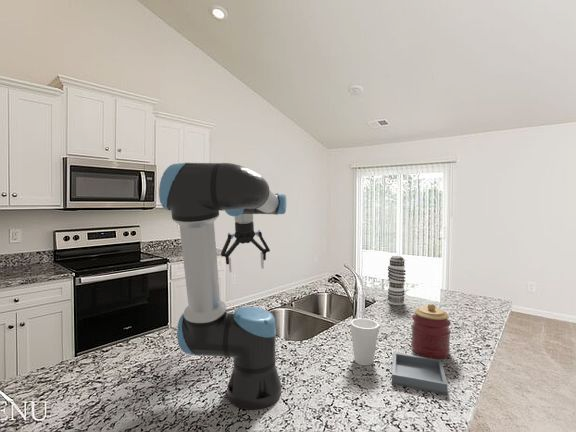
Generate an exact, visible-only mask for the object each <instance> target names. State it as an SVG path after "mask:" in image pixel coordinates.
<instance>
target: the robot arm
mask: <svg viewBox="0 0 576 432" xmlns="http://www.w3.org/2000/svg"><path fill="white" fill-rule="evenodd" d="M158 187H159V188H158V197H159V202H160V204H161V207H162V208H163V209H164V210H166V211H170V212H171V218H172V219H171V220H172V221H174V222H175V223H176V224H178V225H179V233H180V242H181V250H182V252H181V253H182V260H183V268H184V276H185V285H186V286H185V287H186V295H187V304H188V305H187V306H186V307H185V309H184V311H183V313H182V314H181V315H180V317H179V319H178V322H177V326H176V327H177V331H176V338H177V339H176V340H177V344H178V346H179V348H180V350H181V351H182V352H183V353H184V354H188V355H192V356H193V355H194V356H198V357H199V356H200V357H201V356H205V357H208V356H210V357H222V358H233V368H232V371H231V375H230V378H229V381H228V384H227V389H226V390H227V399H228V401H229V402H230V403H231V404H232V405H233V406H236V407H238V408H240V409H243V410H244V409H245V410H260V409H264V408H268V407H270V406H272V405H274V404H275V403H276V402H277V401H279V399H280V398H281V395H282V382H281V379H280V376H279V373H278V369H277V367H276V338H277V337H276V335H277V329H276V319H275V316H274V315H273V313H271V312H270V311H268V310H266V309H264V308H260V307H256V306H246V307H245V306H243V307H242V306H241V307H237V308H236V309H235V310H234V312H233V313H231V312H228V310H227V305H226V303H225V302H224V301H222V300H221V293H220V292H221V291H220V283H219V282H220V281H219V269H218V257H217V245H216V232H215V221H216V220H217V219H218V218H219V217H220V211H221V212H222V211H224V212H225V213H226V214H227V215H228V216H231V217H234V221H235V222H234V233H231V232H228V233H227V239H226V241H225V243H224V245H223V247H222V250H221V252H220V256H221V257H224V258H225V264H226V265H228V271H229V273H232V260H231V254H232V253H233V252H234V251H235V250H236V248H237V247H238V246H239V245H240V244H250V243H252V244H253V245H254V246H255V247H256V248H257V249H258V250H259V251H260V267H261V269H265V265H264V261H266V259H267V255H266V254H267V253H269V252H270V251H271V249H270V247H269V246H268V244H267V242H266V240H265V239H264V237H263V233H262V230H260V229H258V231H255V230H254V229H255V228H254V226H255V223H254V215H276V216H277V215H285V214H286V211H287V195H286V194H285V193H278V192H277V193H275V192H274V191H272V189H270V186H269V183H268V182H267V180H266V179H265V178H264V177H263V176H262V175H261V174H260V173H258V172H256V171H254V170H252V169H250V168H248V167H245V166H243V165H240V164H235V163H230V162H221V163H220V162H216V163H215V162H181V163H180V162H179V163H173V164H170V165H169V166H167V168H166V169H164V171H163V174H162V176H161V178H160V181H159V186H158ZM255 236H256V237H259V240H260V242H261V243H262V245H263V246H264V247H263V246H262V245H261V244H260V243H259V242H258V241H257V240H255V238H254V237H255ZM233 238H235V240H234V242H233V243H232V244H231V245H230V243H231V241H232V239H233ZM229 246H230V247H229Z"/></svg>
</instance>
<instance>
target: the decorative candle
mask: <svg viewBox="0 0 576 432" xmlns="http://www.w3.org/2000/svg"><path fill="white" fill-rule="evenodd" d="M405 261H406V259H405V258H404V257H403V256H398V255H392V256H391V257H390V258H389V263H388V264H389V265H388V266H387V268H388V269H387V271H388V273H387V274H388V275H387V277H388V279H387V280H388V283H389V284H388V289H387V291H388V292H387V303H388V304H390V305H395V306H402V305H404V304H405V292H406V291H405V287H404V286H405V284H404V283H406V280H405V279H406V277H405V276H406V273H405V272H406V270H405V267H406V265H405Z"/></svg>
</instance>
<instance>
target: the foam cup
mask: <svg viewBox="0 0 576 432" xmlns="http://www.w3.org/2000/svg"><path fill="white" fill-rule="evenodd" d="M379 330H380V325H379V323H378V322H377V321H376V320H373V319H370V318H365V317H364V318H354V319H352V320H351V321H350V331H351V340H352V342H351V343H352V350H353V359H354V362H355V363H357V364H358V365H362V366H370V365H373V363H374V362H375V361H374V360H375V354H376V348H377V342H378V336H379V332H380V331H379Z"/></svg>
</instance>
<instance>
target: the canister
mask: <svg viewBox="0 0 576 432" xmlns="http://www.w3.org/2000/svg"><path fill="white" fill-rule="evenodd" d="M411 318H412V319H411V320H412V321H413V322H412V324H411V341H410V343H411V344H410V345H411V349H412V351H413V352H414V353H415V354H417V355H419V356H420V357H426V358H432V359H438V360H443V359H446V358H448V356H449V355H450V350H451V347H450V344H451V343H450V341H451V330H450V325H451V324H452V321H451V320H450V319H449V314H448V313H447V312H445V311H444V309H442V308H439V307H436V306H435V304H434V303H429V304H428V305H425V306H424V305H423V306H419V308H416V309H415V310H414V314H413V315H412V316H411Z"/></svg>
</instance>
